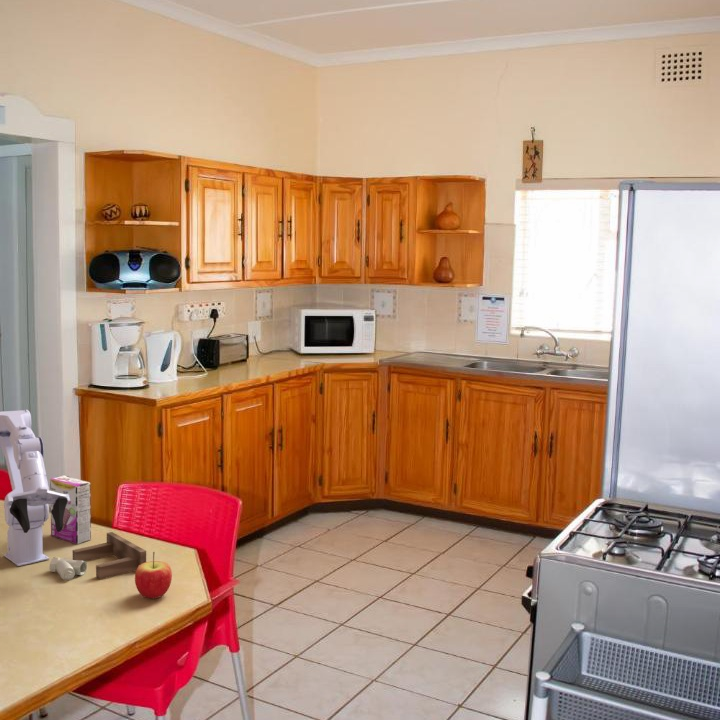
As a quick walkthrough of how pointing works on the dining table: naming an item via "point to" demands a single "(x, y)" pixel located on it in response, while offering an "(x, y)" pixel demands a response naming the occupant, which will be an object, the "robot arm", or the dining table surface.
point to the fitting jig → (119, 548)
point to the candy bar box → (73, 509)
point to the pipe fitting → (68, 567)
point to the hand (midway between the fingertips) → (43, 530)
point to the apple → (153, 578)
